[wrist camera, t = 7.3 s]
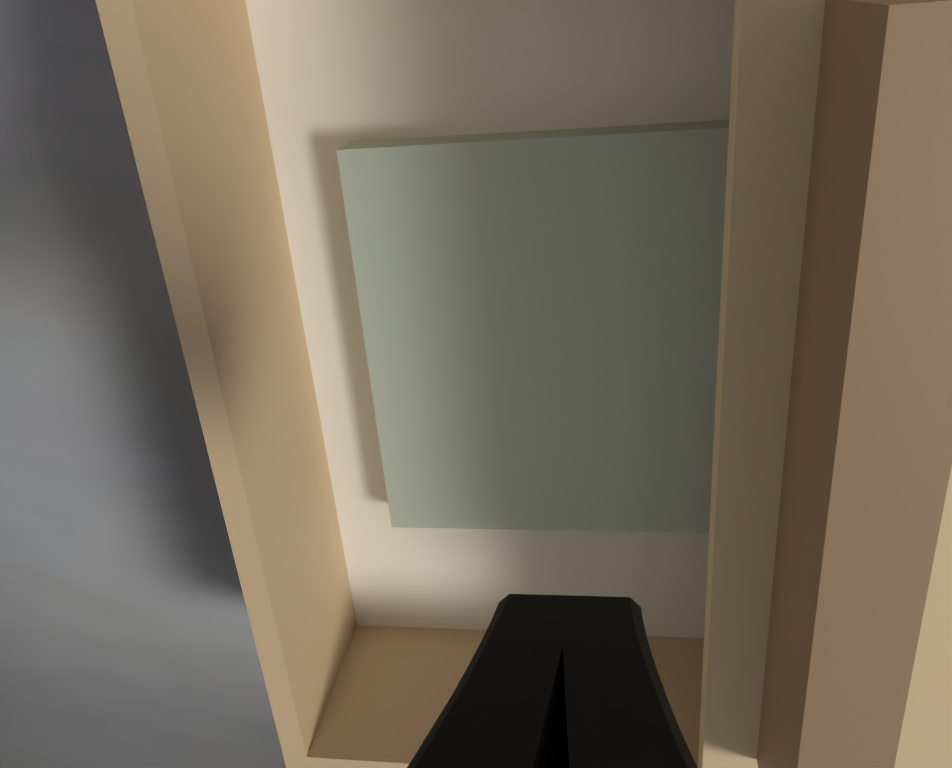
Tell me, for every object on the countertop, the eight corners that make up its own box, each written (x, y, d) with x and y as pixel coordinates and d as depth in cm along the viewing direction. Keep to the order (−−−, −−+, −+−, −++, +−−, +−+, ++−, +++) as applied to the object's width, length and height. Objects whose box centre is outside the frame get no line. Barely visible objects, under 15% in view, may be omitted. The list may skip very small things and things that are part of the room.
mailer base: (1131, 652, 19) (1274, 839, 15) (347, 623, 22) (287, 772, 18) (1423, -224, 12) (1844, -323, 8) (214, -95, 15) (66, -118, 11)
